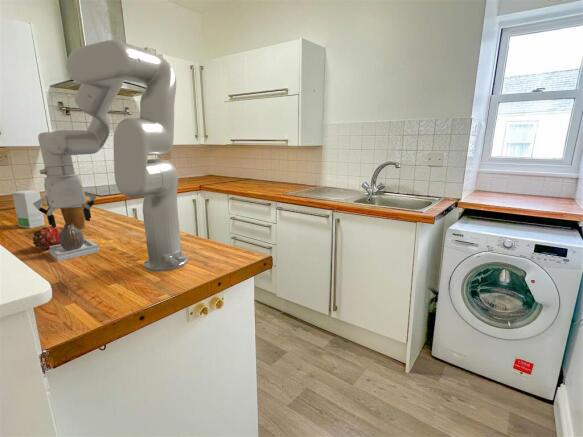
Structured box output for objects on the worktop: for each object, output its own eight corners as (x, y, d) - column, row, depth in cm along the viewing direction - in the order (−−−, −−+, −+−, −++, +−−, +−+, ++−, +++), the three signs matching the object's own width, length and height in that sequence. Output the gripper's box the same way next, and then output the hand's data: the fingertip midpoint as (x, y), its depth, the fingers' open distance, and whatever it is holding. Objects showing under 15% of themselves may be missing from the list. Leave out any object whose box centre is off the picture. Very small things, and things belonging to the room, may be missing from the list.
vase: (81, 244, 114) (76, 220, 111) (88, 248, 109) (84, 223, 107) (58, 249, 108) (53, 224, 106) (65, 253, 104) (60, 228, 102)
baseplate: (99, 251, 110) (98, 245, 109) (57, 261, 101) (56, 254, 101) (89, 244, 118) (88, 238, 117) (49, 252, 109) (48, 246, 109)
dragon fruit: (39, 258, 108) (58, 251, 120) (60, 242, 109) (77, 237, 121) (20, 239, 107) (41, 234, 118) (41, 223, 107) (60, 219, 119)
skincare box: (18, 226, 142) (10, 192, 138) (34, 223, 148) (27, 189, 144) (30, 228, 139) (23, 193, 136) (46, 224, 145) (39, 190, 142)
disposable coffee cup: (86, 224, 146) (81, 198, 143) (91, 228, 139) (87, 201, 136) (60, 228, 139) (55, 201, 136) (65, 232, 132) (60, 204, 130)
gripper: (28, 175, 94) (41, 231, 98) (94, 169, 106) (103, 219, 110) (24, 174, 99) (37, 227, 103) (87, 169, 111) (96, 217, 115)
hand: (71, 223), depth 107 cm, fingers open, 9 cm apart
